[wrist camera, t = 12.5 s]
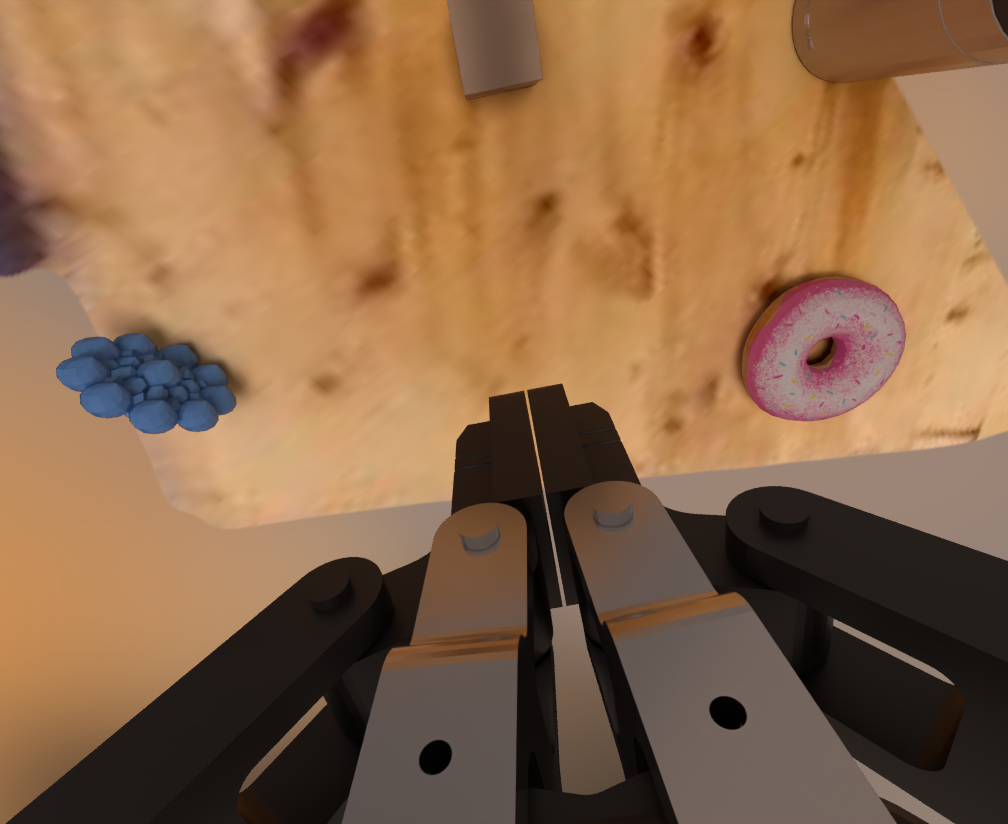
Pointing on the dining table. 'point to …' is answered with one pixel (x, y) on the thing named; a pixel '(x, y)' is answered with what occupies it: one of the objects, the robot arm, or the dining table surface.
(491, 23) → the walnut block
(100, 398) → the grapes
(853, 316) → the donut
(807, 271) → the dining table surface
